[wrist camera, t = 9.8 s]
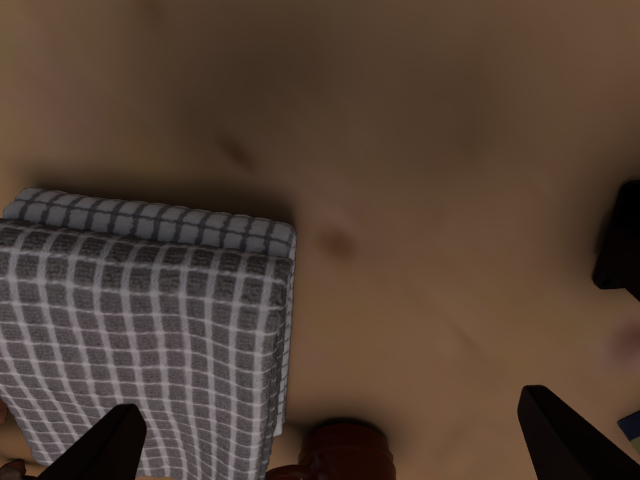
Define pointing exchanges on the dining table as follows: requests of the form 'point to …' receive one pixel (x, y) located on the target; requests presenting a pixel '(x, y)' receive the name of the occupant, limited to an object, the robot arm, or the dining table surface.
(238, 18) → the dining table surface
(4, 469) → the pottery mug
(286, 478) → the mug
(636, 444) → the protein box
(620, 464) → the robot arm
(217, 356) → the towel
